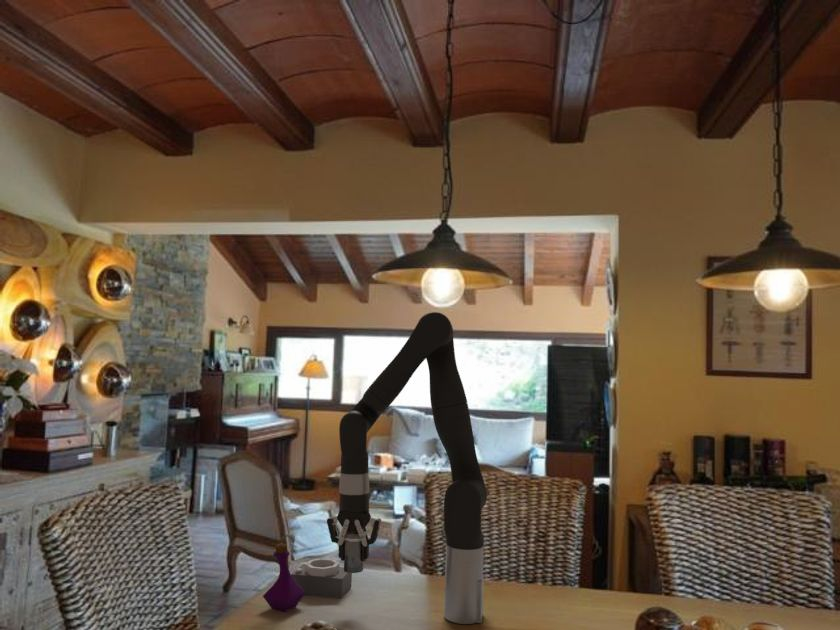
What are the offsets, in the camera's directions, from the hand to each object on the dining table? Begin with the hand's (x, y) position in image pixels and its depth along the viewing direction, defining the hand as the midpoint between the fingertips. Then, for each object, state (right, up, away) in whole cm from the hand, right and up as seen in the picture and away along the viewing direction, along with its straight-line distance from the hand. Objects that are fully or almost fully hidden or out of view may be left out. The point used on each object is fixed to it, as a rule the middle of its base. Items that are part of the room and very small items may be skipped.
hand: (353, 559), depth 159 cm
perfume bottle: (-17, -11, -2) cm, 21 cm away
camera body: (-10, -12, +11) cm, 19 cm away
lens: (0, -2, 0) cm, 2 cm away
